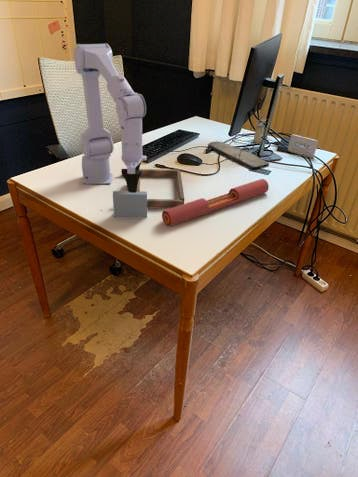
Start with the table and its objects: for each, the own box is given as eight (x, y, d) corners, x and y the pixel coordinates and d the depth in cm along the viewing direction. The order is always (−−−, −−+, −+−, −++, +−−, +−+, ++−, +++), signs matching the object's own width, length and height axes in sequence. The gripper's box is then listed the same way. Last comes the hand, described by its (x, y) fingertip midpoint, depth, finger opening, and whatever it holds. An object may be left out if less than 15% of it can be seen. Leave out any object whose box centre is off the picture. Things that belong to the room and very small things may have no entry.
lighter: (257, 143, 168) (261, 122, 162) (251, 141, 170) (254, 120, 164) (266, 140, 172) (270, 119, 166) (259, 138, 174) (263, 117, 169)
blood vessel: (257, 189, 129) (259, 176, 126) (267, 194, 126) (270, 182, 123) (161, 221, 108) (161, 207, 105) (170, 229, 105) (171, 215, 102)
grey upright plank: (147, 217, 109) (146, 194, 105) (114, 217, 109) (112, 194, 104) (147, 214, 111) (147, 191, 106) (114, 214, 110) (113, 191, 106)
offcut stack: (127, 197, 119) (127, 187, 117) (129, 184, 128) (129, 174, 126) (139, 197, 120) (139, 188, 118) (140, 184, 128) (139, 175, 126)
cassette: (314, 157, 157) (318, 140, 153) (312, 158, 156) (317, 141, 151) (288, 150, 163) (292, 133, 158) (286, 151, 162) (290, 134, 157)
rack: (116, 207, 113) (116, 199, 112) (122, 174, 133) (121, 167, 131) (184, 208, 115) (184, 199, 113) (179, 175, 135) (179, 168, 133)
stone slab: (222, 139, 165) (271, 159, 145) (221, 145, 167) (270, 166, 147) (205, 143, 160) (253, 164, 140) (205, 150, 162) (252, 172, 142)
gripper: (146, 151, 92) (146, 197, 100) (146, 133, 104) (147, 175, 112) (118, 151, 92) (121, 197, 100) (122, 132, 104) (124, 175, 111)
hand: (133, 185), depth 106 cm, fingers open, 7 cm apart
